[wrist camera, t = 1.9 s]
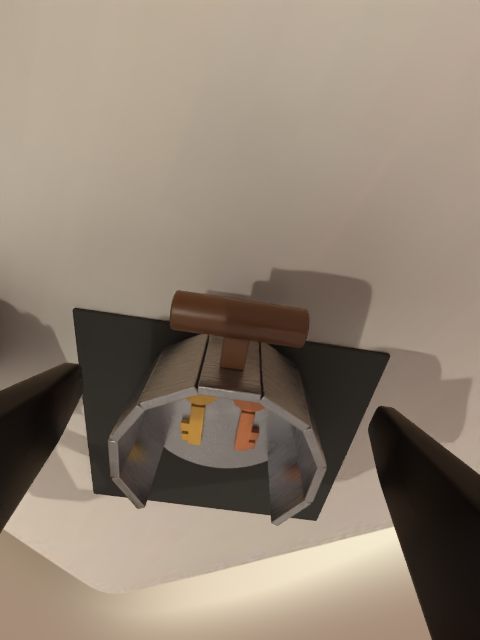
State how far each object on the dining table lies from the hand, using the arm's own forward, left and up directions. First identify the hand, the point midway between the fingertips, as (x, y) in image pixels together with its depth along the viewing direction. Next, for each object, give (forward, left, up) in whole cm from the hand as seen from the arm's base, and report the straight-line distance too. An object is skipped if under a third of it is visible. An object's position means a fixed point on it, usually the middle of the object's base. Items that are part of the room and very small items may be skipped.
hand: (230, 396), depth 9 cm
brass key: (-1, -8, -8) cm, 11 cm away
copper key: (+2, -8, -8) cm, 11 cm away
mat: (0, -12, -10) cm, 15 cm away
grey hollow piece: (0, -6, -8) cm, 10 cm away
